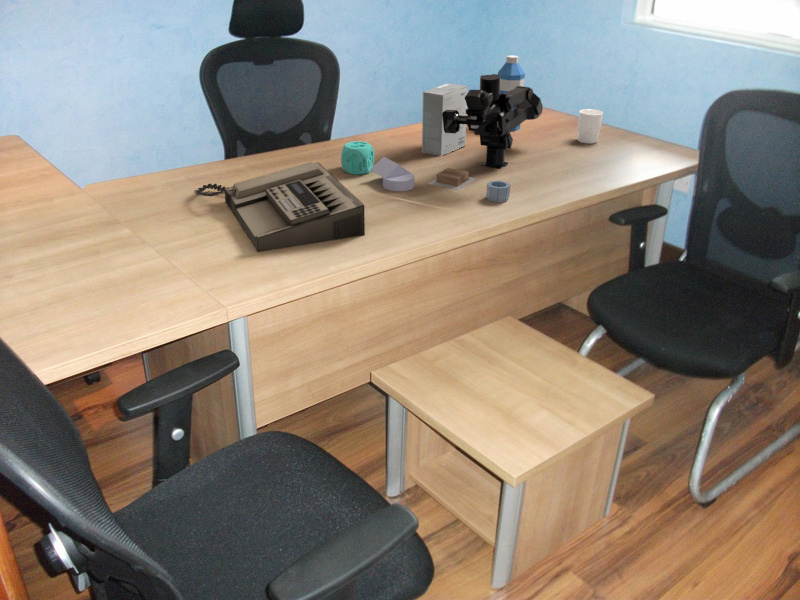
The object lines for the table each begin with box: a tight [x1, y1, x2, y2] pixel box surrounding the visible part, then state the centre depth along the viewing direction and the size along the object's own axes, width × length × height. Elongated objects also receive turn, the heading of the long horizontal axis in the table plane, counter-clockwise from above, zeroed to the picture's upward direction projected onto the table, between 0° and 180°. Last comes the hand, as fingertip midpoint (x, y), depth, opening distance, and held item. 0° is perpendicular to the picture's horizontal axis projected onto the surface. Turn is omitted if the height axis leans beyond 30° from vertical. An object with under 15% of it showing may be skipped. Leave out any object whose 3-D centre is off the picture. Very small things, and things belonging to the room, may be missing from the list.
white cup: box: [577, 108, 604, 145], centre depth 255 cm, size 8×8×10 cm
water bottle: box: [497, 54, 526, 132], centre depth 264 cm, size 9×9×25 cm
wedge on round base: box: [371, 156, 415, 192], centre depth 214 cm, size 9×7×13 cm
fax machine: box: [193, 161, 366, 253], centre depth 193 cm, size 45×34×10 cm
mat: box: [427, 176, 478, 191], centre depth 218 cm, size 12×10×1 cm
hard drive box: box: [421, 82, 468, 157], centre depth 241 cm, size 16×8×20 cm, turn 144°
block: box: [435, 167, 470, 187], centre depth 217 cm, size 7×7×2 cm
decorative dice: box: [340, 140, 375, 176], centre depth 224 cm, size 8×8×8 cm
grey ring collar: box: [485, 180, 511, 203], centre depth 205 cm, size 6×6×4 cm
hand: (460, 132), depth 205 cm, fingers open, 9 cm apart
